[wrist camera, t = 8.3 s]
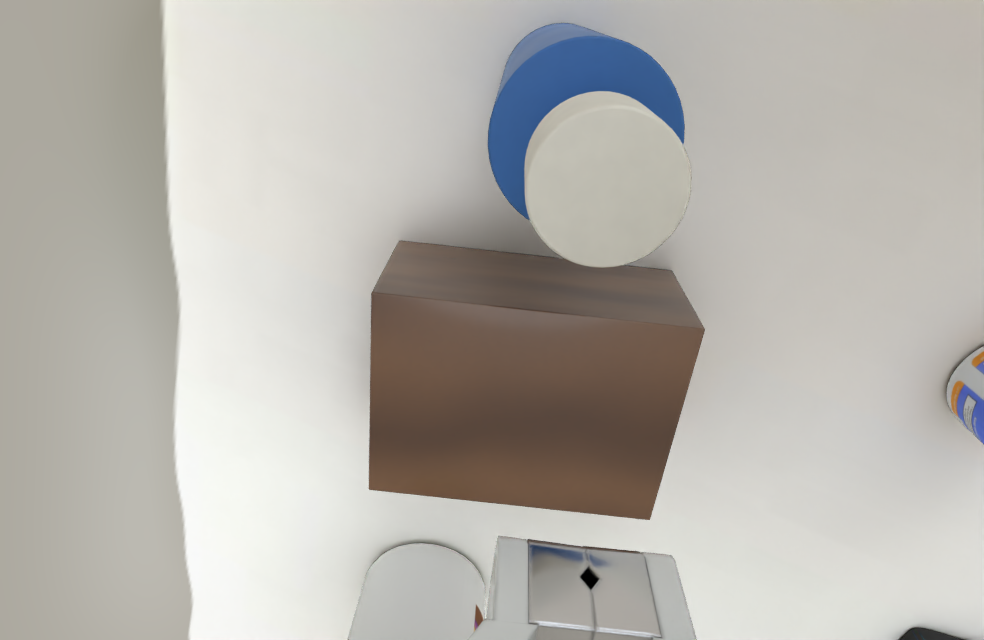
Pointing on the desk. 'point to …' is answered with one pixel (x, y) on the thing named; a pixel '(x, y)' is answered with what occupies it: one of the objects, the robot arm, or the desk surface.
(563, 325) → the wooden box
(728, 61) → the desk surface
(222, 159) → the desk surface
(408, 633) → the milk bottle
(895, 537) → the desk surface
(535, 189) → the bottle
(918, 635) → the smart home device
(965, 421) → the pill bottle
